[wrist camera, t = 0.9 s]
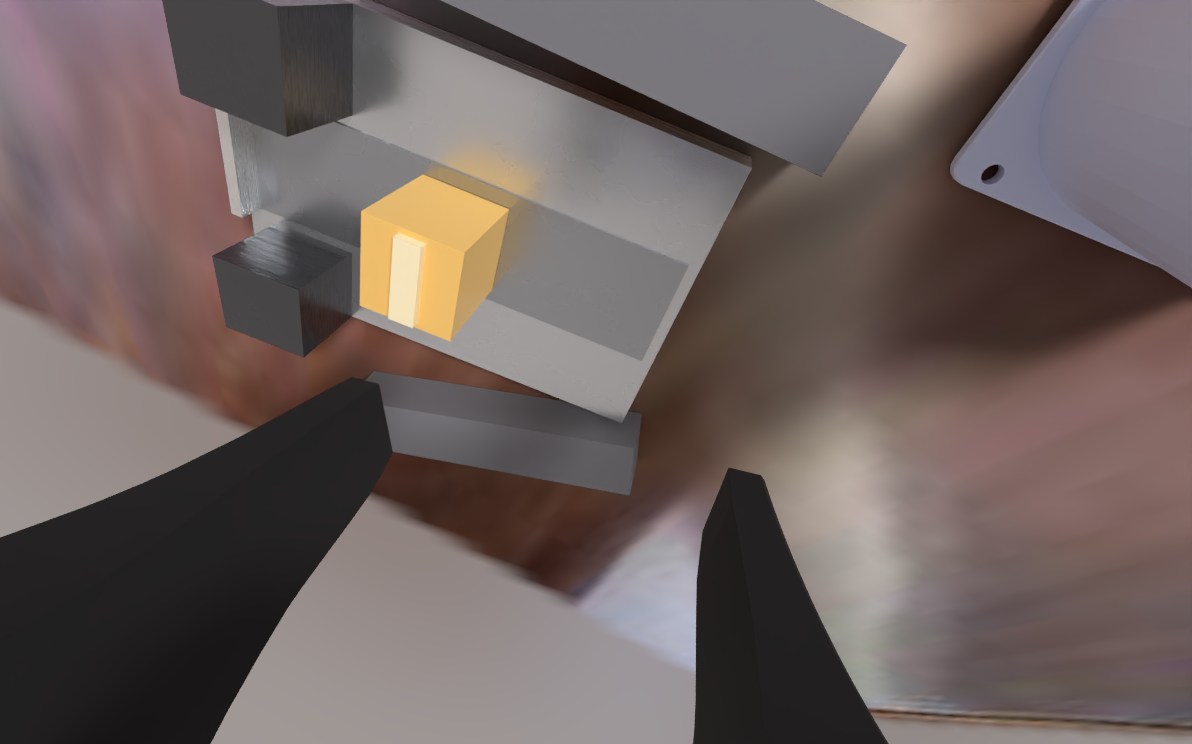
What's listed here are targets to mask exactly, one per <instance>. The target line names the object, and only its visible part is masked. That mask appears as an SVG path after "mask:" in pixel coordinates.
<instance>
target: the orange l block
mask: <svg viewBox="0 0 1192 744" xmlns="http://www.w3.org/2000/svg"><path fill="white" fill-rule="evenodd" d="M508 213H509V209H508V208H505V207H503V206H500V205H498V204H495V203H493V202H490V201H488V200H485V199H483V198H480V197H478V196H475V195H473V194H471V193H468V192H466V191H463V190H461V189H458V188H456V187H453V186H451V185H448V184H446V183H443V182H441V181H438V180H436V179H434V178H431V177H429V176H426V175H424V174H423V175H421V176H419V177H418V178H416V179H414V180H413V181H411V182H409V183H408V184H406V185H404V186H402V187H401V188H399V189H397V190H396V191H394V192H392V193H391V194H389V195H387V196H386V197H384V198H382V199H381V200H379V201H377V202H375V203H374V204H372V205H370V206H369V207H367V208H365V209H364V210H362V211H361V253H360V306H362V307H365V308H367V309H370V310H372V311H375V312H377V313H380V314H382V315H385V316H387V317H388V319H390V320H393V321H395V322H398V323H400V324H403V325H405V326H408V327H410V328H414V327H415V328H417V329H420V330H422V331H425V332H427V333H430V334H432V335H435V336H437V337H440V338H442V339H445V340H447V341H451V340H452V339H453V337H454V336H455V335H456V334H457V332H458V331H459V330H460V329H461V327H462V326H463V325H464V324H465V323H466V321H467V320H468V319H469V318H470V316H471V315H472V314H473V313H474V311H475V310H476V309H477V308H478V307H479V305H480V304H481V303H482V302H483V300H484V299H485V298H486V297H487V295H488V294H489V293H490V292H491V290H492V288H493V283H494V278H495V274H496V269H497V264H498V260H499V255H500V250H501V246H502V241H503V236H504V232H505V227H506V222H507V218H508Z"/></svg>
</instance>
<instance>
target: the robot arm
mask: <svg viewBox="0 0 1192 744" xmlns="http://www.w3.org/2000/svg"><path fill="white" fill-rule="evenodd" d="M995 164H996V165H998V167H999V169H998V171H997V173H996V175H994V176H993V177H992V178H991V179H988V180H981V175H982V173H983V171H984V170H985V169H987V168H988V167H989V166H992V165H995ZM950 173H951V175H952V178H953V179H955V180H956V181H957V182H958V183H960V184H961V185H963V186H966V187H968V188H970V189H973V190H975V191H978V192H980V193H982V194H985V195H987V196H990V197H992V198H994V199H997V200H999V201H1002V202H1004V203H1006V204H1009V205H1011V206H1014V207H1016V208H1018V209H1021V210H1023V211H1026V212H1028V213H1030V214H1033V215H1035V216H1038V217H1040V218H1042V219H1045V220H1047V221H1050V222H1052V223H1054V224H1057V225H1059V226H1062V227H1064V228H1067V229H1069V230H1071V231H1074V232H1076V233H1079V234H1081V235H1083V236H1086V237H1088V238H1091V239H1093V240H1095V241H1098V242H1100V243H1103V244H1105V245H1107V246H1110V247H1112V248H1115V249H1117V250H1119V251H1122V252H1124V253H1127V254H1129V255H1131V256H1134V257H1136V258H1139V259H1141V260H1143V261H1146V262H1148V263H1151V264H1153V265H1155V266H1158V267H1160V268H1162V269H1163V270H1165V271H1166V272H1168V273H1169V274H1171V275H1172V276H1174V277H1175V278H1177V279H1178V280H1180V281H1181V282H1183V283H1185V284H1186V285H1188V286H1189V287H1191V288H1192V0H1073V2H1072V3H1071V4H1070V6H1069V7H1068V8H1067V10H1066V11H1065V12H1064V13H1063V15H1062V16H1061V17H1060V19H1059V20H1058V21H1057V23H1056V24H1055V25H1054V27H1053V28H1052V29H1051V31H1050V32H1049V33H1048V35H1047V36H1046V37H1045V39H1044V40H1043V41H1042V43H1041V44H1040V45H1039V46H1038V48H1037V49H1036V50H1035V52H1034V53H1033V54H1032V56H1031V57H1030V58H1029V60H1028V61H1027V62H1026V64H1025V65H1024V66H1023V68H1022V69H1021V70H1020V72H1019V73H1018V74H1017V76H1016V77H1015V78H1014V80H1013V81H1012V82H1011V83H1010V85H1009V86H1008V87H1007V89H1006V90H1005V91H1004V93H1003V94H1002V95H1001V97H1000V98H999V99H998V101H997V102H996V103H995V105H994V106H993V107H992V109H991V110H990V111H989V113H988V114H987V115H986V117H985V118H984V119H983V120H982V122H981V123H980V124H979V126H978V127H977V128H976V130H975V131H974V132H973V134H972V135H971V136H970V138H969V139H968V140H967V142H966V143H965V144H964V146H963V147H962V148H961V150H960V151H959V152H958V154H957V155H956V156H955V158H954V159H953V161H952V163H951V167H950ZM392 453H393V450H392V445H391V440H390V435H389V430H388V425H387V421H386V416H385V411H384V406H383V401H382V396H381V391H380V386H379V384H378V383H373V382H369V381H365V380H361V379H357V378H353V377H352V378H350V379H348V380H346V381H344V382H342V383H340V384H338V385H336V386H334V387H332V388H330V389H328V390H326V391H324V392H323V393H321V394H319V395H317V396H315V397H313V398H311V399H310V400H308V401H306V402H304V403H302V404H300V405H299V406H297V407H295V408H293V409H291V410H289V411H288V412H286V413H284V414H282V415H280V416H278V417H276V418H275V419H273V420H271V421H269V422H267V423H265V424H263V425H261V426H260V427H258V428H256V429H254V430H252V431H250V432H248V433H246V434H245V435H243V436H241V437H239V438H237V439H235V440H233V441H231V442H229V443H227V444H225V445H223V446H221V447H218V448H216V449H214V450H212V451H210V452H208V453H206V454H204V455H202V456H200V457H198V458H196V459H194V460H192V461H190V462H188V463H186V464H184V465H182V466H180V467H178V468H175V469H173V470H171V471H169V472H167V473H165V474H162V475H160V476H158V477H156V478H154V479H151V480H149V481H147V482H144V483H143V484H140V485H137V486H135V487H132V488H130V489H128V490H125V491H123V492H121V493H118V494H116V495H113V496H111V497H108V498H106V499H104V500H101V501H99V502H96V503H93V504H91V505H88V506H86V507H83V508H80V509H78V510H75V511H72V512H70V513H67V514H64V515H61V516H59V517H56V518H53V519H50V520H48V521H45V522H43V523H39V524H37V525H34V526H31V527H28V528H26V529H23V530H20V531H18V532H15V533H12V534H9V535H6V536H3V537H1V538H0V744H210V743H211V741H212V740H213V738H214V736H215V734H216V732H217V730H218V728H219V726H220V725H221V723H222V721H223V719H224V717H225V715H226V713H227V711H228V709H229V708H230V706H231V704H232V702H233V701H234V699H235V697H236V695H237V693H238V692H239V690H240V688H241V686H242V685H243V683H244V681H245V679H246V678H247V676H248V674H249V672H250V670H251V669H252V667H253V665H254V663H255V662H256V660H257V658H258V656H259V654H260V653H261V651H262V650H263V648H264V646H265V645H266V643H267V641H268V640H269V638H270V636H271V635H272V633H273V631H274V630H275V628H276V626H277V625H278V623H279V621H280V620H281V618H282V617H283V615H284V613H285V612H286V610H287V608H288V607H289V605H290V604H291V602H292V601H293V599H294V598H295V597H296V595H297V594H298V592H299V591H300V589H301V588H302V586H303V585H304V584H305V582H306V581H307V580H308V578H309V577H310V575H311V574H312V573H313V571H314V570H315V569H316V567H317V566H318V565H319V563H320V562H321V561H322V559H323V558H324V556H325V555H326V554H327V552H328V551H329V550H330V548H331V547H332V546H333V544H334V543H335V542H336V540H337V539H338V538H339V536H340V535H341V533H342V532H343V531H344V529H345V528H346V527H347V525H348V524H349V523H350V521H351V520H352V518H353V517H354V516H355V514H356V513H357V511H358V510H359V509H360V507H361V506H362V505H363V503H364V502H365V500H366V499H367V497H368V496H369V495H370V493H371V491H372V489H373V488H374V486H375V484H376V482H377V481H378V479H379V477H380V475H381V474H382V472H383V470H384V468H385V466H386V464H387V462H388V460H389V458H390V457H391V455H392ZM693 744H888V742H887V741H886V739H885V737H884V736H883V734H882V732H881V731H880V729H879V727H878V726H877V724H876V722H875V721H874V719H873V717H872V715H871V714H870V712H869V710H868V708H867V707H866V705H865V703H864V701H863V700H862V698H861V696H860V694H859V692H858V691H857V689H856V687H855V685H854V684H853V682H852V680H851V678H850V676H849V674H848V672H847V671H846V669H845V667H844V665H843V663H842V661H841V659H840V657H839V655H838V653H837V651H836V650H835V647H834V645H833V643H832V641H831V639H830V637H829V635H828V633H827V631H826V629H825V627H824V625H823V623H822V621H821V619H820V617H819V615H818V613H817V611H816V609H815V606H814V604H813V602H812V600H811V598H810V596H809V593H808V591H807V589H806V587H805V584H804V582H803V580H802V577H801V575H800V573H799V571H798V568H797V566H796V564H795V561H794V559H793V557H792V554H791V552H790V549H789V547H788V544H787V542H786V539H785V537H784V534H783V531H782V529H781V526H780V524H779V521H778V518H777V516H776V513H775V510H774V507H773V504H772V502H771V499H770V496H769V493H768V490H767V487H766V484H765V481H764V479H763V478H762V476H761V475H757V474H753V473H749V472H745V471H741V470H736V469H732V468H728V471H727V473H726V475H725V478H724V480H723V483H722V485H721V488H720V490H719V493H718V495H717V497H716V500H715V502H714V505H713V507H712V510H711V512H710V515H709V517H708V519H707V522H706V524H705V527H704V529H703V533H702V541H701V549H700V557H699V566H698V575H697V604H696V708H695V728H694V740H693Z"/></svg>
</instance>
